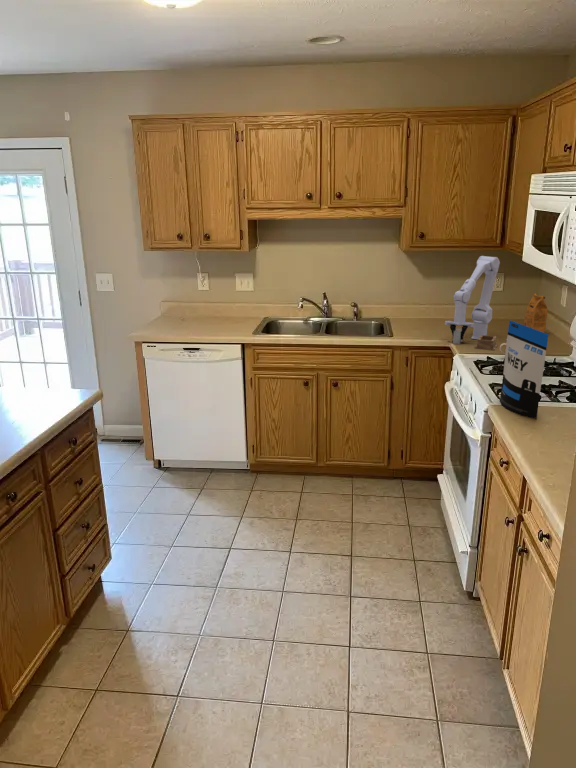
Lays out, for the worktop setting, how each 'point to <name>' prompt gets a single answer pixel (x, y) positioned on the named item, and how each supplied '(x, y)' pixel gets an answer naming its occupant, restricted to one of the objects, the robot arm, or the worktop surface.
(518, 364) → the protein powder
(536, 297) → the coffee package
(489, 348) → the brown rectangular frame
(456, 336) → the silver metal block
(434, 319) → the worktop surface
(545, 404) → the worktop surface
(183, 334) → the worktop surface
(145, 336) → the worktop surface
